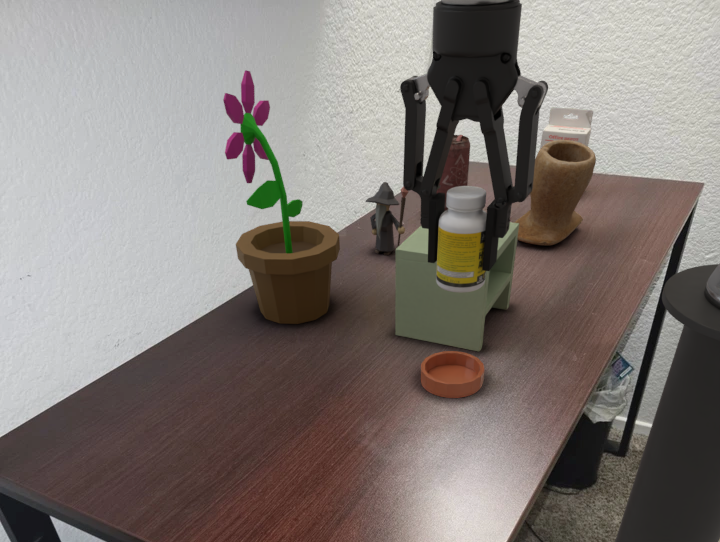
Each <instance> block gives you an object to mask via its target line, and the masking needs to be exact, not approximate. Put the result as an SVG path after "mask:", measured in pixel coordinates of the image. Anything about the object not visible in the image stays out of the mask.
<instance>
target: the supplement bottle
mask: <svg viewBox="0 0 720 542" xmlns="http://www.w3.org/2000/svg"><path fill="white" fill-rule="evenodd" d="M486 205H487V191H486V189H484V188H482V187H480V186H475V185H467V186H458V187H454V188H451V189H449V190H448V191H447V198H446V207H447V208H448V210H446V211H445V212H443V213H442V214H441V216H440V218H439V225H438V248H437V269H436V282H437V284H438V286H439V287H441V288H442V289H444V290H447V291H450V292H472V291H475V290H478V289H479V288H481V287H482V286H483V285H484V283H485V277H486V271H484V270H482V265H483V253H484V241H485V228H486V216H487V211H485V210H483V209H485V208H486Z"/></svg>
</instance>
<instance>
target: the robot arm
mask: <svg viewBox="0 0 720 542" xmlns="http://www.w3.org/2000/svg"><path fill="white" fill-rule="evenodd" d="M522 8H523V4H522V3H521V0H440V1H436V3H435V6H433V8H432V42H431V43H432V44H431V45H432V47H431V48H432V60H431V62H430V65H429V67H428V69H427V73H425V74H421V75H413V76H411V77H409V78H407V79H404V80H403V81H402V82H401V83H400V86H399V90H400V94H401V97H402V101H403V106H404V109H405V110H404V113H405V114H404V143H403V144H404V145H403V173H402V176H403V177H402V185H403V186H404V188H405V189H406V190H408V192H409V191H412V192H414V193H416V194H417V195H418V196H419V198H420V226H422V228H425V229H428V262H429V263H435V262H436V261H437V248H438V225H439V218H440V216H441V214H442V213H443V212H444V211H445V193H439V192H438V193H437V190H438V189H439V188H440V186H439V184H440V180H441V177H442V174H443V170H444V167H445V164H446V160H447V157H448V153H449V150H450V147H451V143H452V140H453V137H454V135H455V133H456V129H457V127H458V125H459V122H461V121H464V120H468V121H469V120H470V121H472V122H474V123H479V127H480V133H481V134H482V135H483V141H484V145H485V151H486V156H487V157H486V158H487V163H488V168H489V174H490V181H491V185H492V191H493V197H494V199H493V200H492V201H491V202H490V204H488V206H487V207H486V213H487V216H486V228H485V241H484V253H483V265H482V270H484V271H490V269H491V268H492V267H493V265H494V264H495V263H496V261H497V251H498V240H499V238H503V237H504V236H505V235H506V234H507V232H508V230H509V225H510V222H511V213H512V205H513V204H516V203H523V202H524V201H525V200H526V199H527V198H528V197H529V195H530V193H531V192H532V189H533V178H534V167H535V159H536V156H537V155H536V153H537V143H538V133H539V123H540V111H541V108H542V105H543V103H544V100H545V99H546V96H547V93H548V91H549V84H548V82H547V81H545V80H539V81H538V82H536V81H535V80H533V79H530V78H528V77H525V76H523V75H522V71H521V68H520V65H519V63H518V62H519V61H518V51H519V49H518V48H519V39H520V29H521V18H522V10H523V9H522ZM430 89H431V90H432V92H433V94H434V96H435V98H436V100H437V101H438V103H439V106H440V108H439V109H440V110H439V112H438V113H439V114H438V117H437V121H436V125H435V127H436V129H435V134H434V136H433V141H432V144H431V148H430V151H429V154H428V159H427V161H426V166H425V170H424V159H425V139H426V138H425V137H426V118H427V102H426V100H428V98H429V95H430ZM514 91H515V92H516V94H517V105H518V106H519V107H520V108H521V109H520V110H521V111H520V115H519V121H518V131H517V132H518V133H517V144H516V145H517V147H516V160H515V161H516V162H515V173H514V183H513V177H512V172H511V166H510V159H509V158H510V157H509V153H508V146H507V140H506V134H505V128H504V127H505V126H504V124H505V117H504V109H503V105H504V104H505V103H506V102H507V100H508V99H509V97H510V96H511V95H512V93H513V92H514ZM513 184H514V185H513ZM403 186H402V187H403ZM718 264H719V265H718V266H717V267H716V269H715V270H714V271H713V273H712V274H711V276H710V277H709V278H708V281H707V284H706V287H705V290H704V296H705V298H706V299H707V301H708V302H709V303H710V304H712V305H713V306H714V307H716V308H717V309H719V310H720V262H719V263H718Z"/></svg>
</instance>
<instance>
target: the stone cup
mask: <svg viewBox="0 0 720 542" xmlns="http://www.w3.org/2000/svg"><path fill="white" fill-rule="evenodd" d="M596 162H597V157H596V153H595V152H594V150H593V149H591V147H589V146H588V147H587V146H586V145H584V144H582V143H579V142H576V141H571V140H555V141H550V142H548V143H546V144H545V145H544V146H543V147H542V148H541V149H540V148H539V150H538V152H537V155H536V156H535V167H534V178H533V189H532V192H531V193H530V194H529V195H530V209H529V210H528V211H527V212H526V213H525V214H523V215H522V216H520V217H519V218H518V219H517V220H515V221H514V222H513V223H519V230H518V238H517V241H520V242H522V243H526V244H531V245H537V246H553V245H557V244H558V243H561V242H562V241H564V240H565V239H566V238H568V237H569V236H570V234H572V233H573V232H574V231H575V230H576V229H577V228H578V227H579V226H580V225H581V224H582V222H583V221H584V218H583V216H582V215H581V214H580V213H578V212H577V211H576V208H577V206H578V204H579V202H580V201H581V199H582V197H583V195H584V193H585V191H586V190H587V188H588V186H589V184H590V183H591V180H592V178H593V176H594V175H593V174H594V169H595V167H596V164H597V163H596Z"/></svg>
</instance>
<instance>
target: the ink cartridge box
mask: <svg viewBox="0 0 720 542" xmlns="http://www.w3.org/2000/svg"><path fill="white" fill-rule="evenodd" d="M570 114H571V115H573V116H577V117H578V118H567V117H564V116H569V115H570ZM593 115H594V111H593V109H584V108H572V107H556V106H552V107H551V108H550V110H549V119H548V124H547V125H546V126H545V127H544V128H543V130H542V133H541V138H540V139H541V140H540V145H539V150H540V149H541V148H542V147H543V146H544V145H545V144H546V143H548V142H550V141H555V140H571V141H576V142H579V143H582V144H584V145H586V146H587V147H589V143H590V138H591V133H592V123H593Z"/></svg>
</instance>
